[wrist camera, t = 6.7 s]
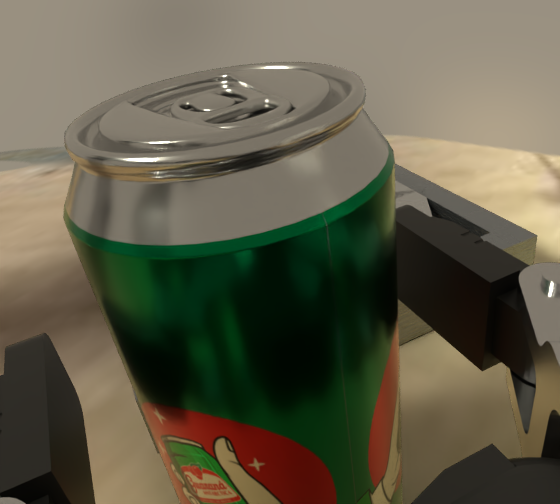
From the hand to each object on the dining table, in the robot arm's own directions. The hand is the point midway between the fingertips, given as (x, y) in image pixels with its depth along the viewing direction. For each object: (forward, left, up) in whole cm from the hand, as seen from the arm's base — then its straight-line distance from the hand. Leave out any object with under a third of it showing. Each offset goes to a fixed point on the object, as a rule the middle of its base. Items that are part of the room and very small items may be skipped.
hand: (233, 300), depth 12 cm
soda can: (0, -2, -7) cm, 7 cm away
